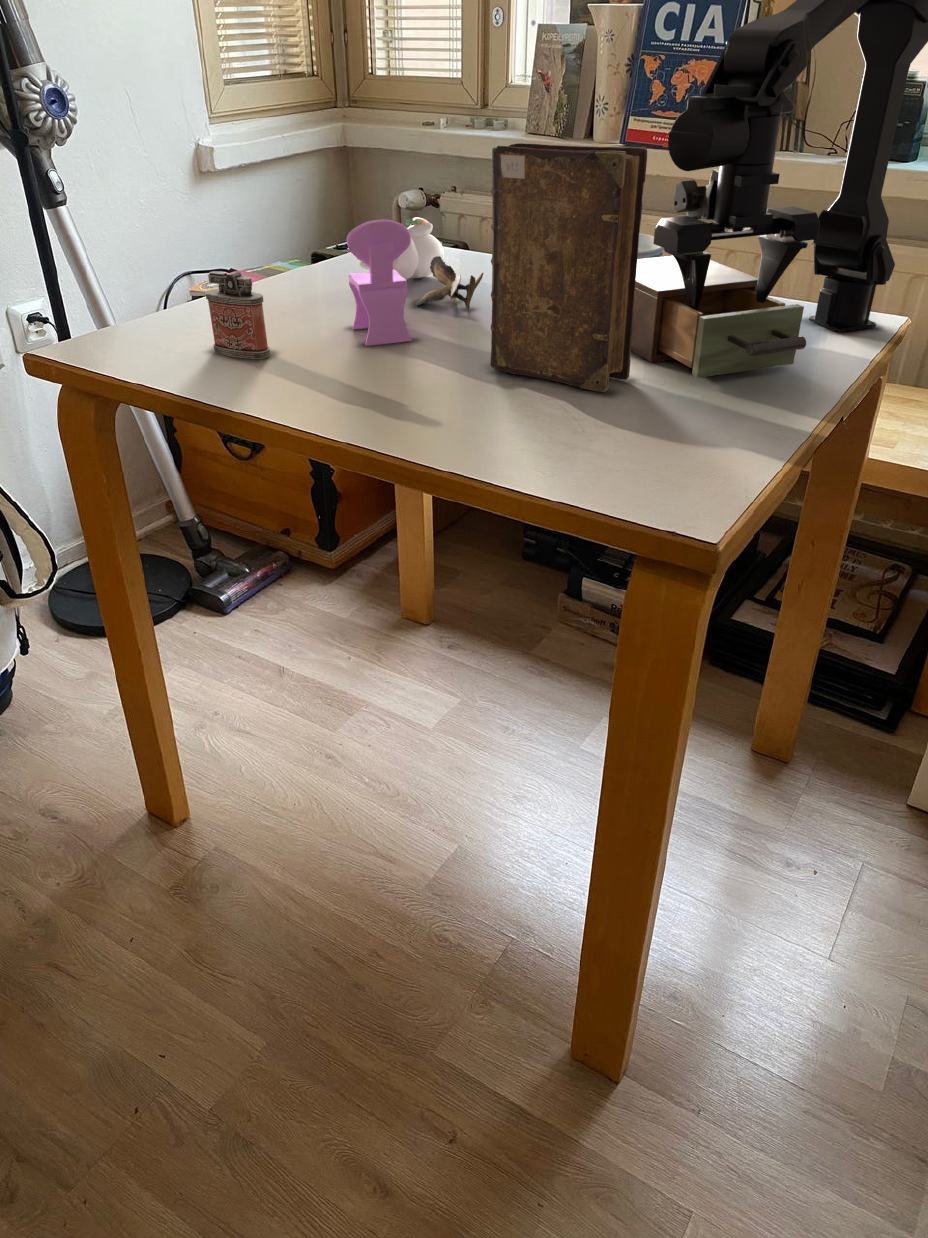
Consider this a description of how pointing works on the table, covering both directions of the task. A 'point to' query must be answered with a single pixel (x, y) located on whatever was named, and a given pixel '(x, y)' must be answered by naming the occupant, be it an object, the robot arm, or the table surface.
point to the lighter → (237, 316)
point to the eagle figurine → (449, 284)
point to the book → (565, 260)
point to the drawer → (730, 332)
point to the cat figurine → (417, 251)
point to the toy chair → (379, 280)
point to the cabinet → (667, 281)
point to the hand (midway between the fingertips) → (727, 306)
